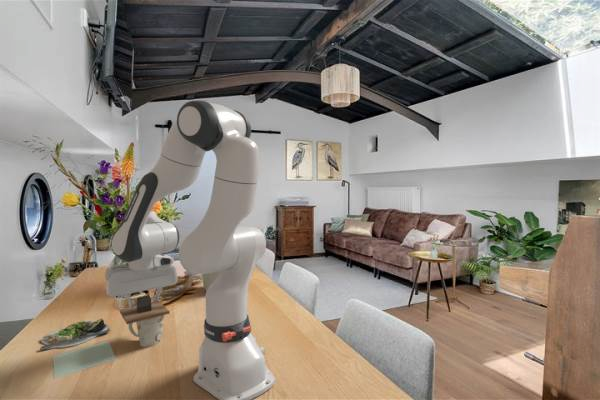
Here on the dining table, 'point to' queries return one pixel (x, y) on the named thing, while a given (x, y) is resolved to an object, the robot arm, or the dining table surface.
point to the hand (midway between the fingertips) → (144, 303)
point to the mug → (149, 331)
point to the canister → (209, 278)
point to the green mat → (82, 359)
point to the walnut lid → (143, 310)
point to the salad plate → (75, 334)
